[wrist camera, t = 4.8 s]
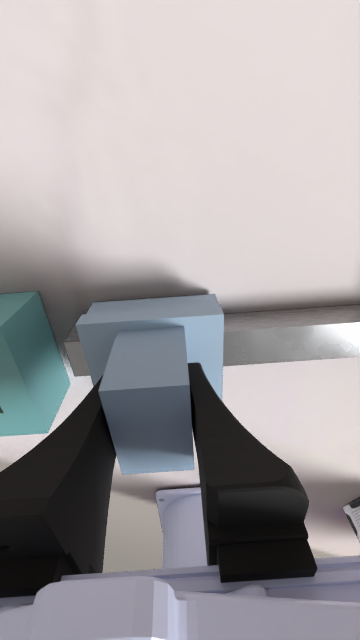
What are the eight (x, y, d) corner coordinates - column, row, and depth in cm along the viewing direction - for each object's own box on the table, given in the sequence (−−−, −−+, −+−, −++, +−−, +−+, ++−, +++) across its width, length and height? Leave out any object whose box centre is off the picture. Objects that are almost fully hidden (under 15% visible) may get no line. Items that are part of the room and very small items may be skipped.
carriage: (214, 371, 18) (237, 473, 12) (111, 378, 18) (82, 483, 12) (214, 289, 15) (244, 369, 9) (91, 297, 15) (39, 383, 9)
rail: (401, 349, 18) (439, 380, 16) (88, 371, 18) (75, 405, 16) (430, 279, 16) (482, 302, 13) (69, 305, 16) (49, 332, 13)
